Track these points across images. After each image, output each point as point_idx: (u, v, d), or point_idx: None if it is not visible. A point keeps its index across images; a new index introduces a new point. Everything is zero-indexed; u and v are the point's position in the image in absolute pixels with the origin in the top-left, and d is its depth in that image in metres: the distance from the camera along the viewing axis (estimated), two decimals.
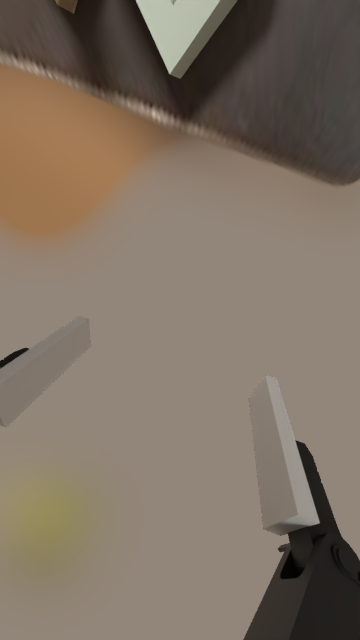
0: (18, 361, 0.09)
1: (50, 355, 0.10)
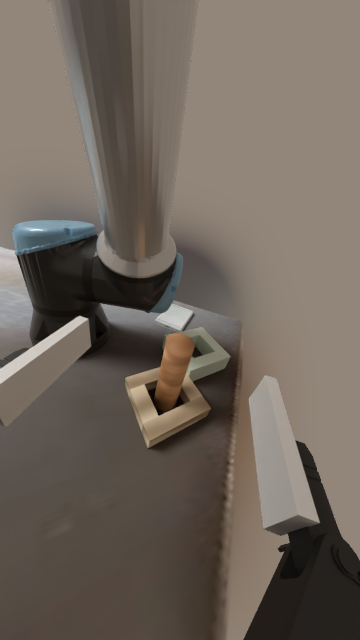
0: (18, 361, 0.09)
1: (50, 355, 0.10)
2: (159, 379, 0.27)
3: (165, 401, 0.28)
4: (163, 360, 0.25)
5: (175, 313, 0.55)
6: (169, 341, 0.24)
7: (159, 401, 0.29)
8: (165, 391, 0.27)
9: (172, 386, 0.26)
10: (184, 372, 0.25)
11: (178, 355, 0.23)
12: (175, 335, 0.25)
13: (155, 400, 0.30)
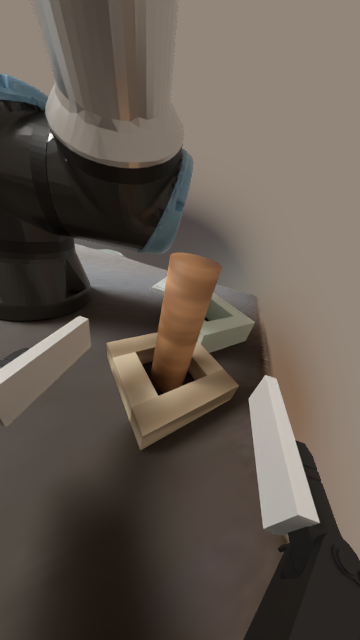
0: (18, 361, 0.09)
1: (51, 355, 0.10)
2: (159, 336, 0.17)
3: (168, 375, 0.18)
4: (165, 296, 0.14)
5: None
6: (176, 257, 0.13)
7: (159, 375, 0.18)
8: (169, 355, 0.16)
9: (181, 344, 0.16)
10: (201, 318, 0.15)
11: (195, 274, 0.12)
12: (186, 254, 0.15)
13: (152, 375, 0.19)
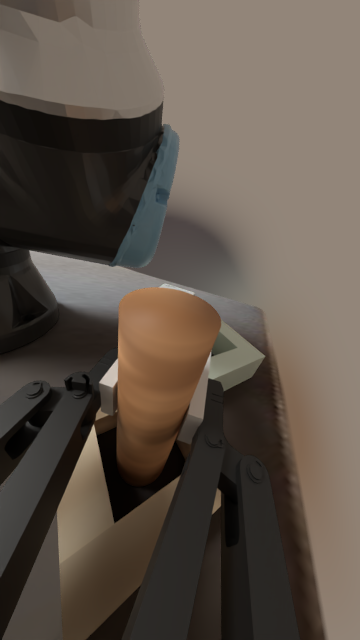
0: None
1: None
2: (117, 419, 0.10)
3: (137, 472, 0.11)
4: (118, 370, 0.08)
5: None
6: (132, 303, 0.07)
7: (124, 468, 0.12)
8: (134, 452, 0.10)
9: (152, 443, 0.09)
10: (186, 405, 0.08)
11: (164, 351, 0.06)
12: (157, 291, 0.08)
13: (117, 460, 0.13)
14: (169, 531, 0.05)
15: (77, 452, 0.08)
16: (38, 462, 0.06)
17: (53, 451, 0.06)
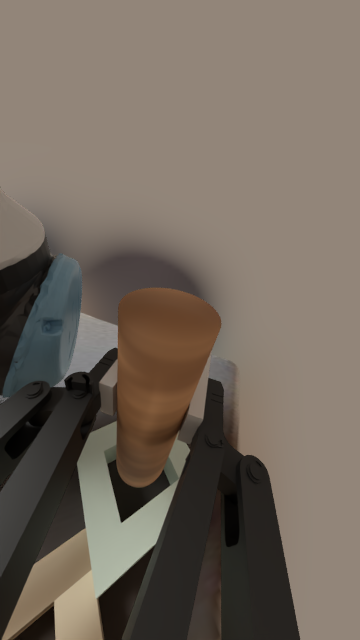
0: None
1: None
2: (117, 420, 0.10)
3: (137, 472, 0.11)
4: (118, 370, 0.08)
5: None
6: (132, 304, 0.07)
7: (124, 468, 0.12)
8: (133, 453, 0.10)
9: (152, 443, 0.09)
10: (185, 406, 0.08)
11: (163, 352, 0.06)
12: (156, 291, 0.08)
13: (117, 461, 0.13)
14: (169, 531, 0.05)
15: (77, 452, 0.08)
16: (38, 462, 0.06)
17: (53, 451, 0.06)
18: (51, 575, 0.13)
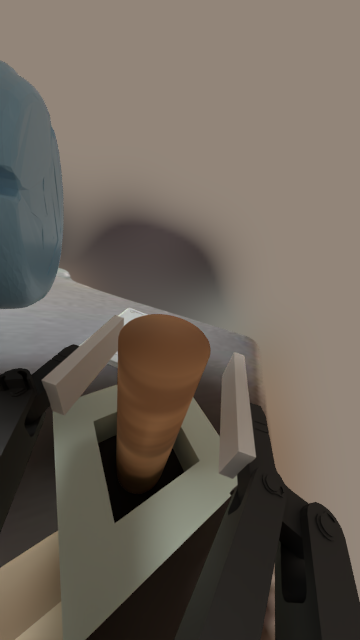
0: (74, 356, 0.10)
1: (97, 351, 0.11)
2: (117, 433, 0.11)
3: (135, 481, 0.12)
4: (118, 391, 0.09)
5: None
6: (130, 334, 0.08)
7: (124, 477, 0.12)
8: (132, 464, 0.11)
9: (149, 456, 0.10)
10: (179, 422, 0.09)
11: (157, 382, 0.06)
12: (153, 318, 0.09)
13: (117, 469, 0.14)
14: (223, 579, 0.05)
15: (25, 449, 0.08)
16: None
17: None
18: None
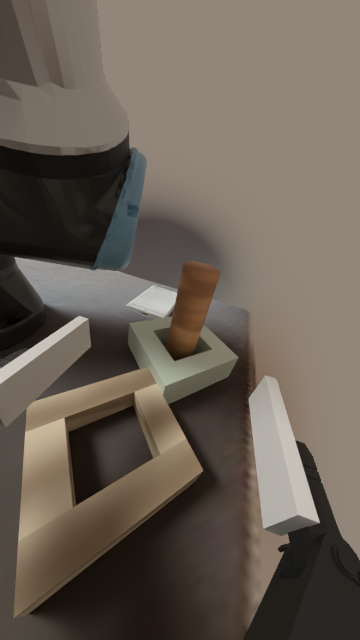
0: (18, 361, 0.09)
1: (50, 355, 0.10)
2: (172, 325, 0.22)
3: (179, 355, 0.23)
4: (179, 293, 0.19)
5: (157, 297, 0.39)
6: (187, 265, 0.18)
7: (172, 356, 0.23)
8: (180, 339, 0.21)
9: (190, 330, 0.21)
10: (205, 310, 0.20)
11: (202, 278, 0.17)
12: (194, 262, 0.20)
13: None
14: None
15: None
16: None
17: None
18: (129, 382, 0.19)
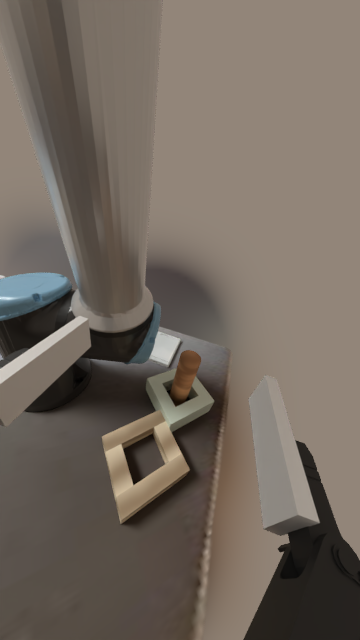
0: (18, 361, 0.09)
1: (50, 355, 0.10)
2: (174, 384, 0.37)
3: (178, 400, 0.38)
4: (178, 370, 0.34)
5: (162, 344, 0.54)
6: (183, 357, 0.33)
7: (174, 400, 0.38)
8: (179, 392, 0.36)
9: (184, 389, 0.36)
10: (193, 378, 0.35)
11: (190, 367, 0.32)
12: (186, 352, 0.35)
13: None
14: None
15: None
16: None
17: None
18: (150, 420, 0.34)
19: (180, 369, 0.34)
